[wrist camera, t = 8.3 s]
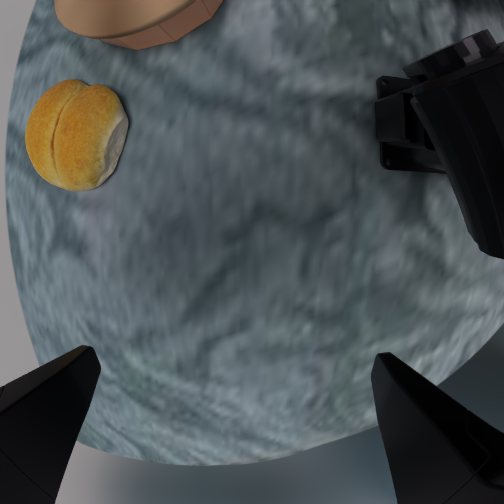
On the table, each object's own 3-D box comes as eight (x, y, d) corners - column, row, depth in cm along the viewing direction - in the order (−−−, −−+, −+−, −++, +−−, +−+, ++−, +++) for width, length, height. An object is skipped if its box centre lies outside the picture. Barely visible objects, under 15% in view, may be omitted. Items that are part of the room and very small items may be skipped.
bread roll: (58, 77, 17) (27, 72, 13) (144, 96, 18) (117, 87, 14) (34, 170, 20) (2, 177, 16) (110, 202, 20) (82, 214, 17)
